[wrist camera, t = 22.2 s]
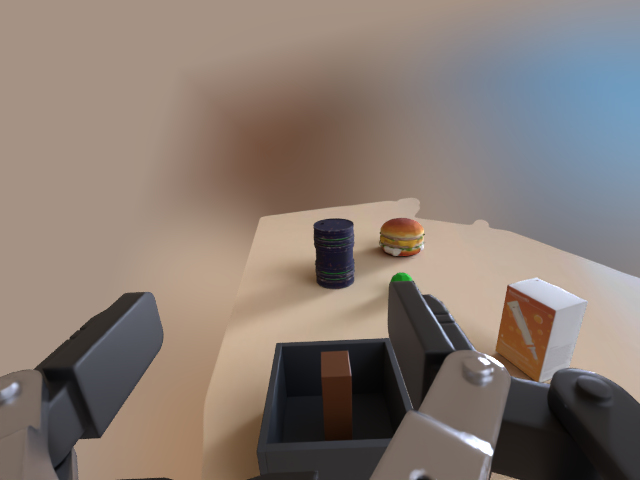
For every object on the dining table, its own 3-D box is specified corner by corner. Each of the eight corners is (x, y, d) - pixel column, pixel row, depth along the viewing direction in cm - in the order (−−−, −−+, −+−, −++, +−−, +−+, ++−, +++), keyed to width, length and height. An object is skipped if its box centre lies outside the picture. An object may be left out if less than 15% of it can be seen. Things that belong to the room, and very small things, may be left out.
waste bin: (267, 520, 33) (256, 451, 30) (282, 398, 48) (276, 342, 44) (418, 514, 33) (425, 444, 30) (387, 393, 48) (389, 337, 44)
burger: (428, 246, 101) (430, 215, 97) (417, 263, 90) (419, 229, 86) (387, 240, 107) (387, 211, 104) (371, 255, 96) (372, 223, 93)
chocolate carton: (325, 456, 38) (321, 376, 34) (325, 426, 42) (320, 351, 38) (352, 455, 38) (351, 375, 34) (349, 425, 42) (348, 350, 38)
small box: (494, 351, 55) (506, 283, 51) (522, 342, 57) (536, 276, 52) (538, 385, 48) (556, 310, 43) (569, 373, 50) (589, 300, 45)
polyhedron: (388, 288, 77) (388, 270, 76) (408, 286, 77) (409, 268, 76) (393, 298, 73) (394, 279, 71) (415, 297, 73) (416, 278, 71)
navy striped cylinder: (359, 273, 85) (358, 219, 80) (348, 291, 77) (347, 232, 71) (324, 269, 89) (321, 217, 84) (310, 285, 80) (306, 229, 75)
